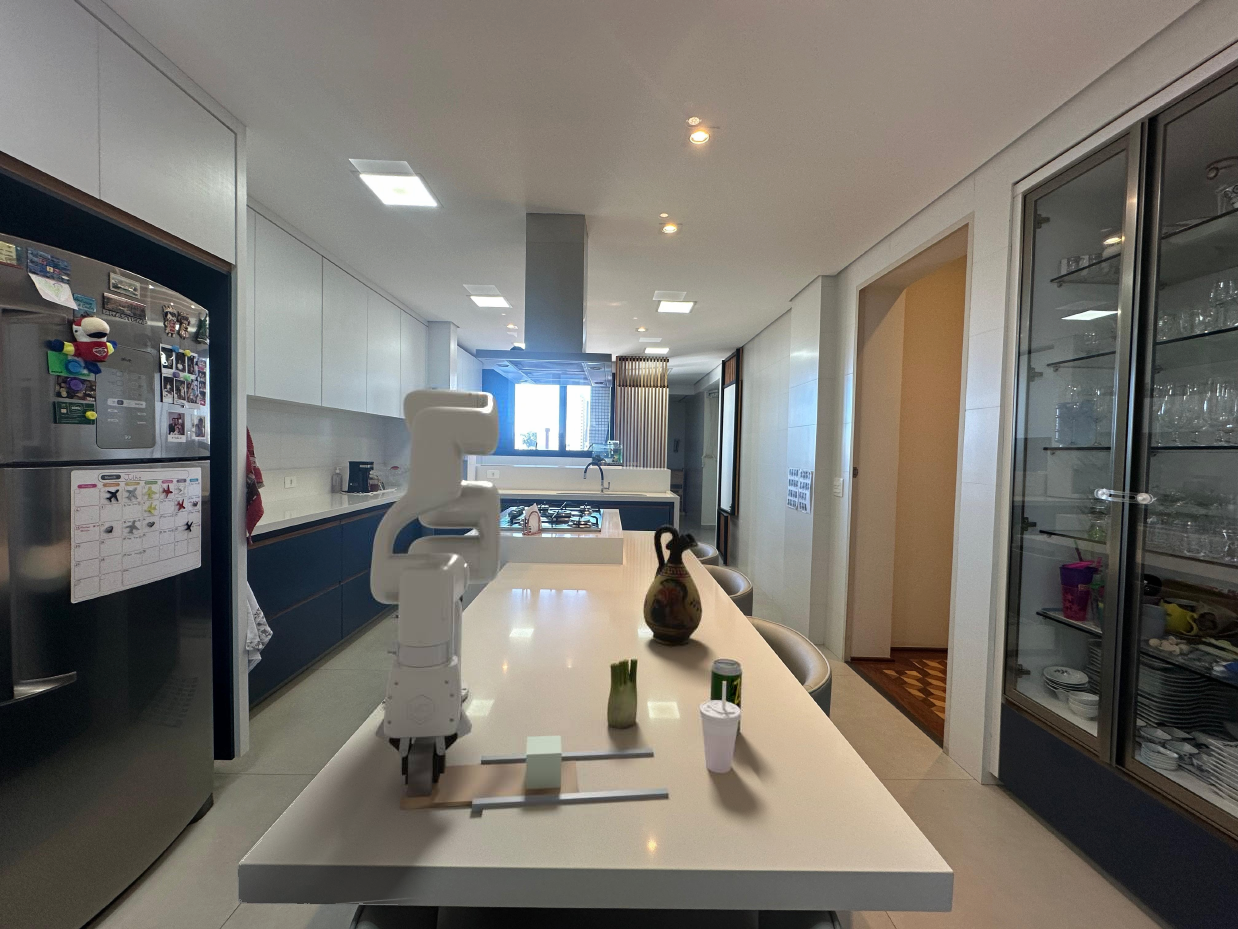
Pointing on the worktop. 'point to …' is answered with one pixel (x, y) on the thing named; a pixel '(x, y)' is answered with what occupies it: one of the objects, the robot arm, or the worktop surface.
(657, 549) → the ceramic jug
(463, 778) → the strip
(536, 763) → the block
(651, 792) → the lane rails
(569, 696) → the worktop surface
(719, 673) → the beer can
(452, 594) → the robot arm
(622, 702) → the fennel bulb
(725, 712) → the smoothie
